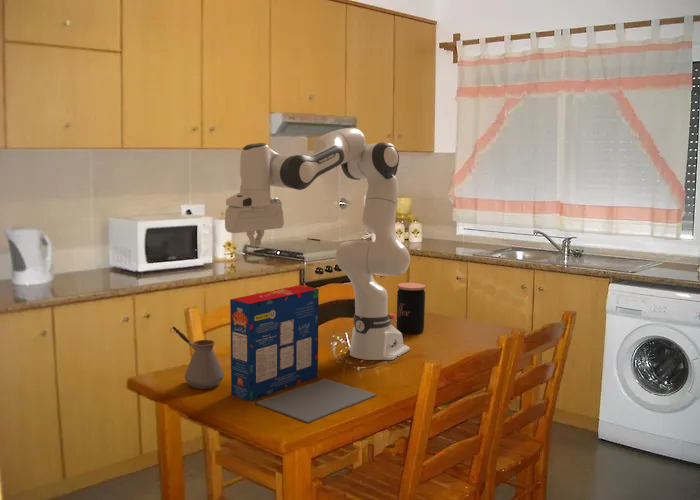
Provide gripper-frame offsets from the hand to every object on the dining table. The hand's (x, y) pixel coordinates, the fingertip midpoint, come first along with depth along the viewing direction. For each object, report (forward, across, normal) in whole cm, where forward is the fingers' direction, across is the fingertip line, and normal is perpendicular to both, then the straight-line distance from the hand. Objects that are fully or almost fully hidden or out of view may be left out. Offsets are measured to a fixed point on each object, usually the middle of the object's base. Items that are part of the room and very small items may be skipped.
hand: (255, 245), depth 213 cm
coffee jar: (+41, -79, 0) cm, 89 cm away
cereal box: (+41, 0, +9) cm, 42 cm away
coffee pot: (+41, +14, -12) cm, 45 cm away
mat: (+41, 0, +26) cm, 49 cm away
